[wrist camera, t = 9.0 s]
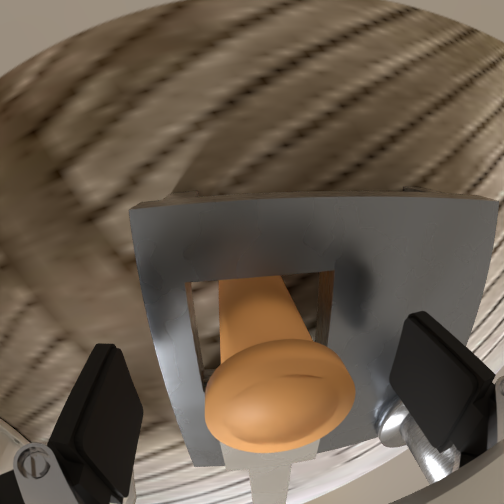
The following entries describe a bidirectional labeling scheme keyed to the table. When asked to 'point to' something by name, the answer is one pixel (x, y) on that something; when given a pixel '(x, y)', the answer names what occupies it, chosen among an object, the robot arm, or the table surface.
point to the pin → (272, 373)
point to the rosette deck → (329, 299)
